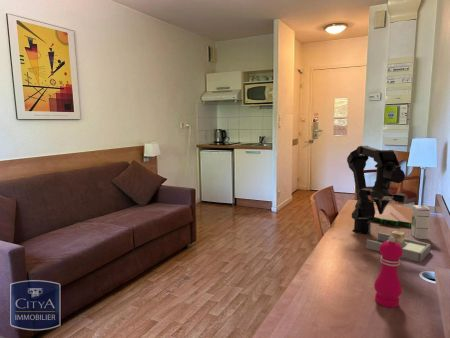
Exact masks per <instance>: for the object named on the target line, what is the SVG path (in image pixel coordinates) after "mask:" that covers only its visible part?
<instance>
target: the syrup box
mask: <svg viewBox="0 0 450 338" xmlns="http://www.w3.org/2000/svg"><path fill="white" fill-rule="evenodd" d="M412 209H413V212H412V223H411V224H410V227H411V228H410V235H411V236H412V237H413V238H414V239H418V240H419V239H420V240H428V239H429V233H430V232H429V229H430V217H431V208H430V207H428V206H427V205H419V204H417V205H415V204H414V205H413V206H412Z"/></svg>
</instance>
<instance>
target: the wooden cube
mask: <svg viewBox="0 0 450 338" xmlns="http://www.w3.org/2000/svg"><path fill="white" fill-rule="evenodd" d="M390 235H391V236H392V237H394V238H395V242H396V243H398V244H402V243H403V242H404V238H405V232H404V231H399V230H393V231H392V232H391V234H390Z"/></svg>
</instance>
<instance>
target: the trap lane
mask: <svg viewBox="0 0 450 338" xmlns="http://www.w3.org/2000/svg"><path fill="white" fill-rule="evenodd" d="M389 237H391V234H388V233H383V232H377V240H371V239H366V243H365V244H366V249H369V250H374V251H377V252H380V251H379V248H380V245H381V244H382V243H383V242H385V241H389V240H388V238H389ZM399 245H400V246H401V247H402V250H403V254H402V256H401V257H400V258H402V259H407V260H411V261H415V262H418V263H422V262H423V260H424V259H425V258H426V257H427V256H428V255H429V254H430V253H431V243H427V242H423V241H419V240H414V239H409V238H406V237H404V242H403V243H402V244H399Z"/></svg>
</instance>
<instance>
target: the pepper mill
mask: <svg viewBox="0 0 450 338" xmlns="http://www.w3.org/2000/svg"><path fill="white" fill-rule="evenodd" d="M388 240H389V241H385V242H383V243H382V244H381V245H380V248H379V251H378V252H379V253H380V255H381V256H380V263H381V269H380V272H379V274H378V275H377V277H376V279H375V280H374V285H373V288H374V290H375V296H374V300H375V302H376V303H377V304H378V305H380V306H383V307H386V308H397V307H398V306H399V305H400V304H399V302H400V298H399V297H400V296H401V295H402V293H403V287H402V284H401V281H400V279H399V274H398V268H399V266H400V265H401V263H400V261H401V258H402V257H401V256H402V254H403V250H402V247H401V246H400V245H399V244H398V243H396V242H395V238H394V237H392V236H391V237H389V238H388Z"/></svg>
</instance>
